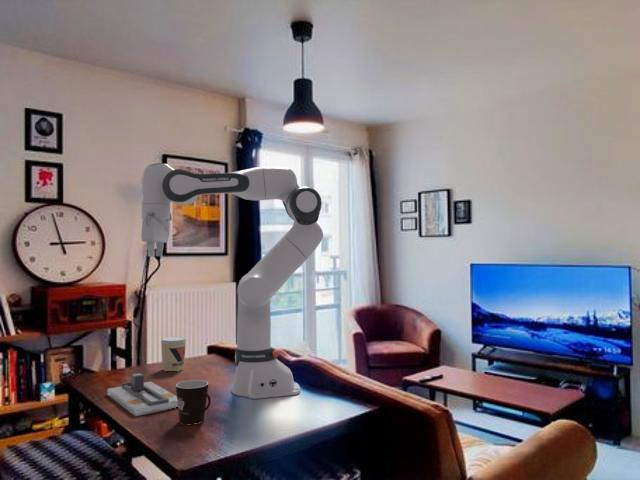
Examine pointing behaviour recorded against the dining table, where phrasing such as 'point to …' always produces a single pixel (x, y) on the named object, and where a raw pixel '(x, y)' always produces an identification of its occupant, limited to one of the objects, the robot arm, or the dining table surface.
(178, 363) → the coffee cup
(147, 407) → the console
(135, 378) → the fader knob
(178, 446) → the dining table surface
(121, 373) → the dining table surface
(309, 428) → the dining table surface
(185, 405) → the coffee mug
